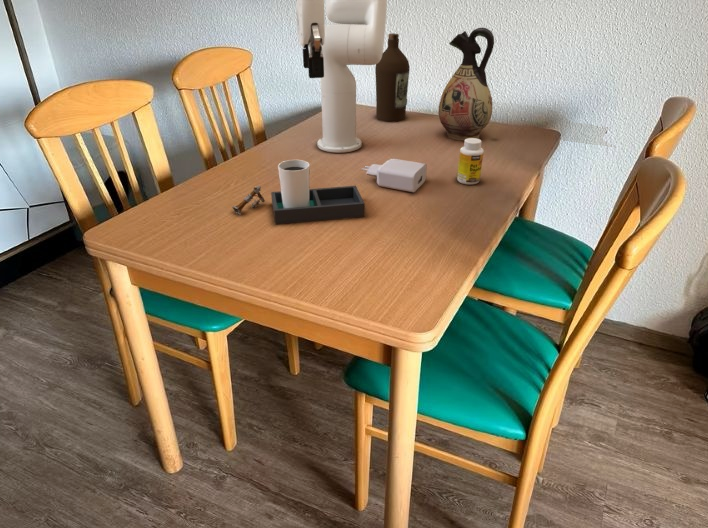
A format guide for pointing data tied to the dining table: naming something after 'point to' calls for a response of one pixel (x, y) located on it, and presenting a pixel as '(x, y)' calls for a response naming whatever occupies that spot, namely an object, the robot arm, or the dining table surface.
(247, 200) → the wooden post with brackets
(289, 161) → the coffee cup
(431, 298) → the dining table surface
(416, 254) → the dining table surface
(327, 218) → the grey divided tray
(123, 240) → the dining table surface
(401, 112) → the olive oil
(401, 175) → the charger
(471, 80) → the ceramic jug
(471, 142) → the supplement bottle
